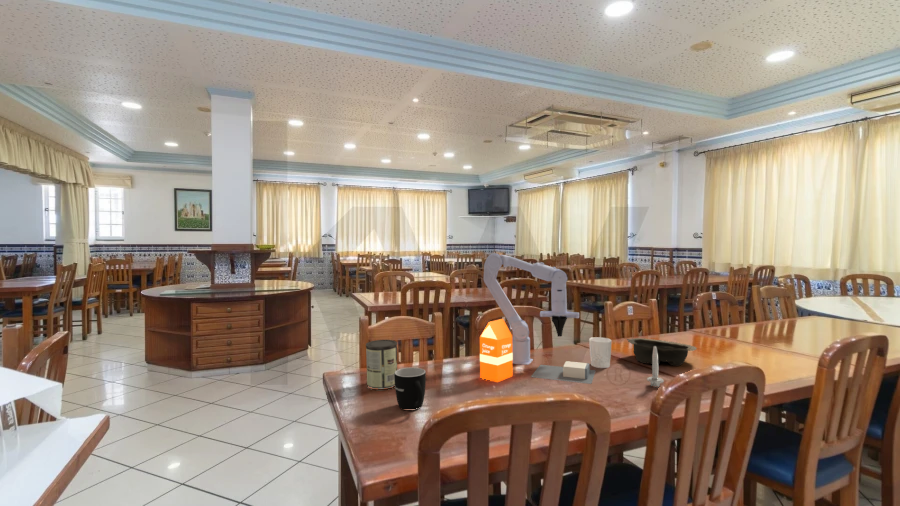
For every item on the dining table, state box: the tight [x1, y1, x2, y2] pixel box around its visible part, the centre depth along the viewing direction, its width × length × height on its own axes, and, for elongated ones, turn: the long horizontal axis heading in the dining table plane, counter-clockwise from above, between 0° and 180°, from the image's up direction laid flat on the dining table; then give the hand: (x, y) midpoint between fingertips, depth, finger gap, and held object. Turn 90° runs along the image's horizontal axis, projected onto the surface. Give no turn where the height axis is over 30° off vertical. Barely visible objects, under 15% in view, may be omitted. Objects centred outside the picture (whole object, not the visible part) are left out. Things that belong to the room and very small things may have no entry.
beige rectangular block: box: [562, 360, 591, 379], centre depth 151 cm, size 4×7×8 cm
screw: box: [646, 346, 665, 388], centre depth 139 cm, size 13×5×5 cm
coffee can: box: [365, 339, 398, 389], centre depth 144 cm, size 10×10×14 cm
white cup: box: [588, 336, 612, 369], centre depth 162 cm, size 8×8×10 cm
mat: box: [530, 364, 597, 385], centre depth 153 cm, size 20×16×1 cm
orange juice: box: [479, 318, 514, 383], centre depth 150 cm, size 8×9×20 cm
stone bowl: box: [626, 337, 698, 367], centre depth 168 cm, size 25×25×9 cm
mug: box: [394, 366, 427, 410], centre depth 123 cm, size 12×9×10 cm
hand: (559, 335), depth 167 cm, fingers closed
